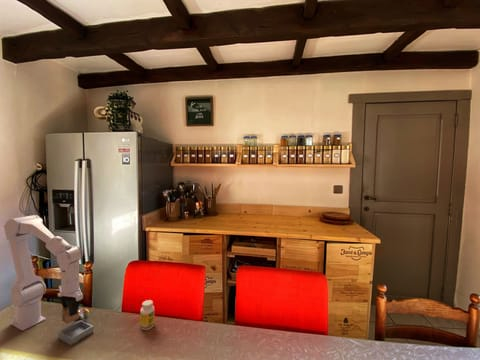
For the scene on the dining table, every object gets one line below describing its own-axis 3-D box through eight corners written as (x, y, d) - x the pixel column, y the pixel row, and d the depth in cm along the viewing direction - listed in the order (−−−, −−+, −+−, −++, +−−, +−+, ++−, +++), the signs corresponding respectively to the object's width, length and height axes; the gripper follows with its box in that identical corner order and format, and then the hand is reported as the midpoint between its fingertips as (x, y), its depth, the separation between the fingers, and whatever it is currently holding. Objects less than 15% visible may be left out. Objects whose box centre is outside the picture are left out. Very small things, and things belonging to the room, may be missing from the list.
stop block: (62, 320, 91) (62, 309, 91) (73, 315, 95) (73, 304, 94) (67, 323, 89) (67, 312, 89) (78, 318, 93) (78, 307, 92)
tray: (58, 338, 87) (58, 332, 87) (80, 325, 95) (80, 319, 94) (71, 345, 84) (71, 338, 84) (93, 332, 91) (93, 325, 91)
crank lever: (70, 315, 101) (70, 303, 100) (81, 311, 104) (81, 299, 104) (82, 326, 94) (82, 313, 94) (93, 321, 97) (93, 308, 97)
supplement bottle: (149, 331, 92) (149, 307, 92) (137, 329, 93) (137, 305, 93) (156, 322, 97) (157, 299, 97) (145, 320, 98) (145, 298, 98)
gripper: (49, 278, 92) (50, 312, 92) (67, 288, 84) (68, 324, 85) (69, 271, 98) (70, 303, 98) (88, 280, 90) (88, 314, 91)
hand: (70, 312), depth 92 cm, fingers closed on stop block, 4 cm apart
